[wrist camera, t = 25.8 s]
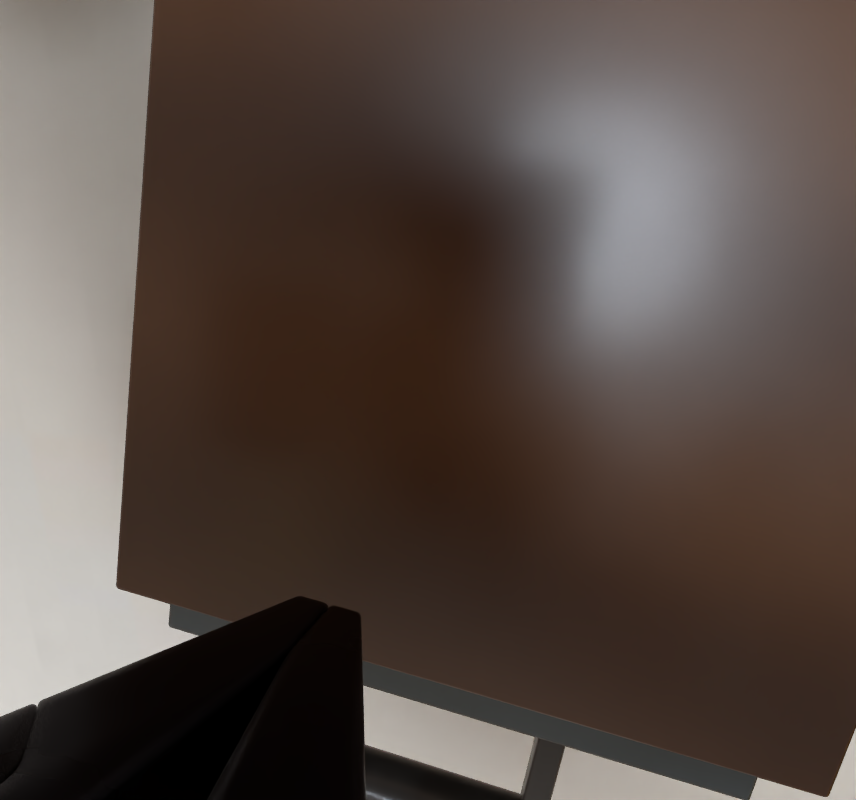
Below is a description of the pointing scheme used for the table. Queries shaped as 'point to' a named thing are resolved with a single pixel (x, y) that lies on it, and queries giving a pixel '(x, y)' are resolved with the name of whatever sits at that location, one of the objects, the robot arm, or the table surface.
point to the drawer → (461, 796)
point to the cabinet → (514, 351)
